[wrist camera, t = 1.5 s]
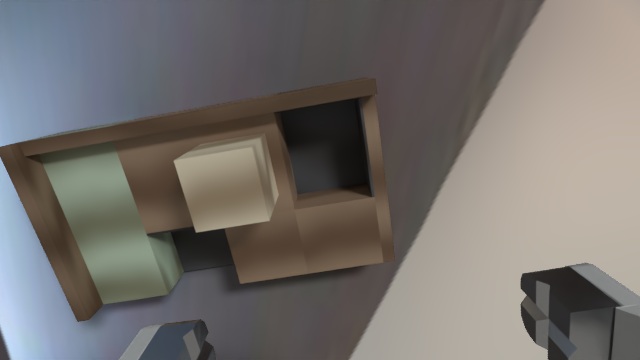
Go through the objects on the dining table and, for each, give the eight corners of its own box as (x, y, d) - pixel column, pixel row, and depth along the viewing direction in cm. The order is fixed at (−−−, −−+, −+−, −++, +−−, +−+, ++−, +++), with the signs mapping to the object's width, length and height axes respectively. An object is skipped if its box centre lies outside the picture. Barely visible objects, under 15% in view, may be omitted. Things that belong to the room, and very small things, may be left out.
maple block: (200, 144, 26) (173, 160, 21) (264, 133, 26) (251, 147, 21) (217, 204, 28) (196, 232, 23) (278, 194, 27) (269, 221, 22)
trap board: (58, 133, 30) (-4, 147, 24) (366, 77, 28) (377, 79, 23) (118, 279, 34) (77, 321, 29) (386, 238, 33) (400, 273, 27)
